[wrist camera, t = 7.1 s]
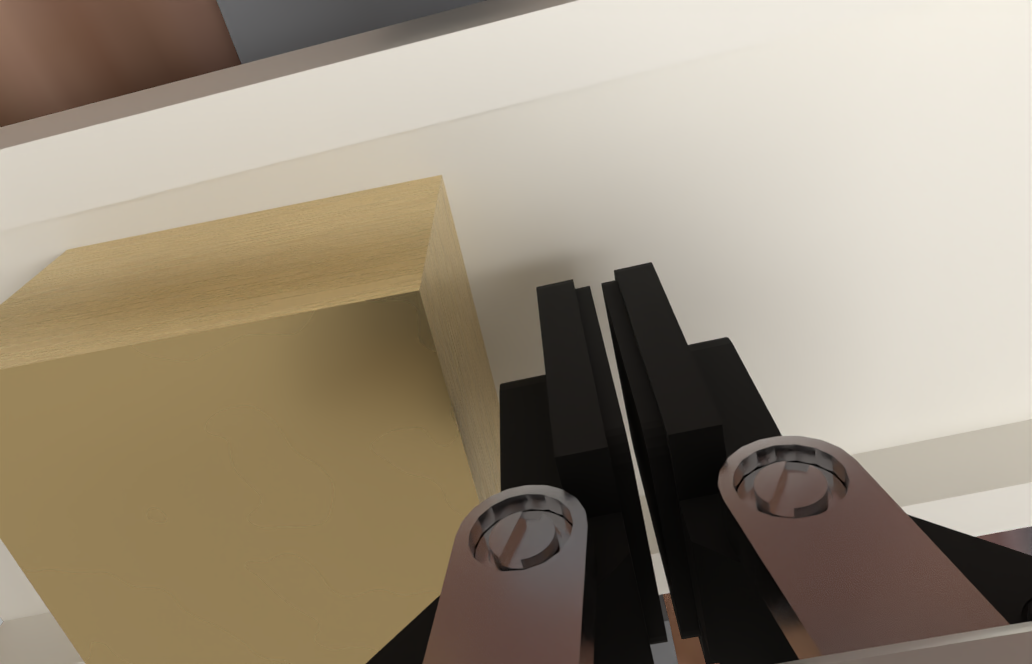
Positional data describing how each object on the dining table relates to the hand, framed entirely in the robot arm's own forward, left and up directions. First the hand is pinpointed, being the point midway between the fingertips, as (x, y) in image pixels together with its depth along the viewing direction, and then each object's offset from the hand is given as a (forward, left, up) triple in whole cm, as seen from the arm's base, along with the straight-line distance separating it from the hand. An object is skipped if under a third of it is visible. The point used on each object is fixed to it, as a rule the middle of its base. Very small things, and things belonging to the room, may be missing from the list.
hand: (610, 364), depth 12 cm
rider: (+5, 0, -2) cm, 5 cm away
